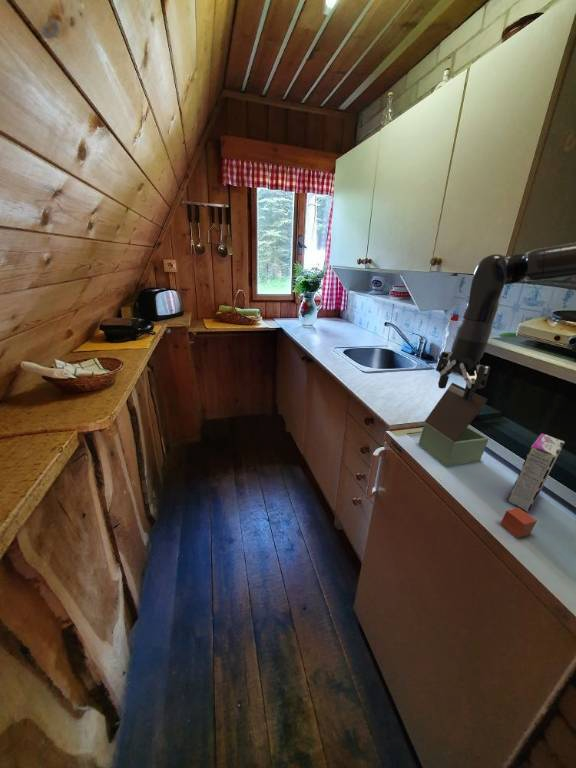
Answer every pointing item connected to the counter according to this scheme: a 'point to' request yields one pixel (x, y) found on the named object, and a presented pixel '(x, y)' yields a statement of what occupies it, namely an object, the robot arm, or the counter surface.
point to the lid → (454, 412)
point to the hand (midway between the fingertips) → (453, 393)
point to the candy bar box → (535, 471)
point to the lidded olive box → (453, 446)
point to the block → (518, 522)
